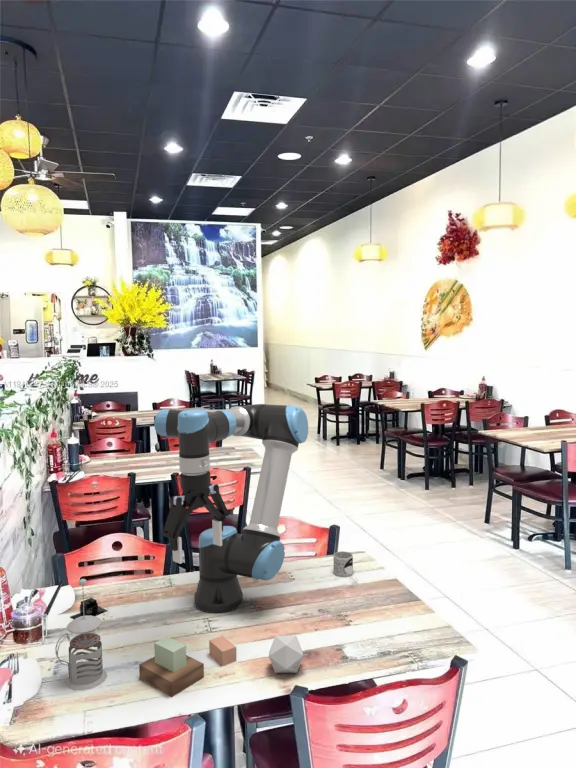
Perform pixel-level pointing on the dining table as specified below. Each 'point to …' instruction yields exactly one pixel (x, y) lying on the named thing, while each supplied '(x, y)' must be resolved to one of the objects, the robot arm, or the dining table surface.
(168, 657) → the sage brick
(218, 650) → the terracotta brick
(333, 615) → the dining table surface
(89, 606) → the black angular piece
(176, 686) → the walnut slab
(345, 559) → the mug
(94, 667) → the french press
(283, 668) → the die
